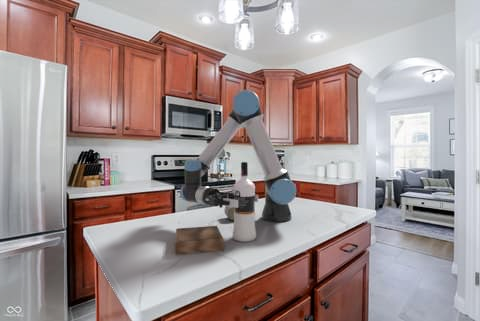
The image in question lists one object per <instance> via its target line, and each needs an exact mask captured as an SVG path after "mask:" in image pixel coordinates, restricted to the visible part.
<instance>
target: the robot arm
mask: <svg viewBox="0 0 480 321" xmlns="http://www.w3.org/2000/svg"><path fill="white" fill-rule="evenodd" d="M237 92H238V93H236V94H235V95H234V97H233V98H232V108H231V109H232V110H231V111H230V113H229V114H228V116H227V120H226V122H224V124H223V126H221V128H220V129H219V130H218V131H217V133H216V134H215V136H214V137H213V138H212V139H211V141H209V143H208V145H207V146H206V147H205V148H204V150H203V151H202V152H201V153H200V155H199V156H198V157H197V159H186V160H185V161H184V166H183V169H184V185H183V186H181V188H180V190H179V197H180V198H181V200H183V201H186V202H189V203H197V204H202V205H203V206H205V205H209V206H214V207H218V206H219V207H218V208H223V206H224V207H226V206H229V207H235V208H238V200H234V192H228V191H226V192H224V191H220V189H218V188H217V187H210V186H203V185H202V177H204V175H205V174H206V172H207V171H208V170H209V168H210V167H211V165H212V164H213V163H214V162H215V161H216V159H217V158H218V157H219V156H220V154H221V153H222V151H223V150H224V149H225V148H226V146H228V144H229V143H230V141H231V140H232V139H233V138H234V137H235V135H236V134H237V133H238V131H239V130H241V129H243V128H244V129H245V131H246V133H247V136H248V138H249V140H250V144H251V145H252V147H253V150H254V151H255V155H256V157H257V159H258V162H259V165H260V166H261V168H262V169H261V170H262V172H263V174H264V177H263V182H264V188H265V189H264V192H265V193H264V197H265V198H264V199H265V202H264V206H263V208H262V212H261V219H263V220H265V221H267V222H269V221H270V222H274V223H275V222H280V223H281V222H287V221H290V220H292V212H291V210H290V206H289V204H291V202H292V201H293V200H294V199H295V198H296V195H297V186H296V185H295V183H294V181H292V180H291V177H290V175H289V173H288V170H287V169H284V168H283V166H282V165H281V164H282V163H281V162H280V160H279V157H278V154H277V152H276V150H275V148H274V147H275V146H274V145H273V143H272V140H271V138H270V135H269V133H268V130H267V128H266V126H265V124H264V121H263V118H264V116H265V115H264V113H263V110H262V108H261V105H260V103H261V102H260V98H259V96H258V94H256V92H254V91H253V90H249V89H243V90H240V91H237ZM255 203H259V194H255Z"/></svg>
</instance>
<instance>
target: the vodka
mask: <svg viewBox="0 0 480 321" xmlns="http://www.w3.org/2000/svg"><path fill="white" fill-rule="evenodd" d="M248 166H249V165H248V162H246V161H242V162H240V168H241V169H240V179H239V180H238V181H237V182H235V183H234V185H233V193H234V200H238V208H235V207H234V220H233V231H232V238H233V239H234V240H235V241H237V242H240V243H241V242H242V243H249V242H252V241H254V240H255V239H256V238H257V231H256V221H255V220H256V219H255V218H256V217H255V216H256V213H255V212H256V211H255V205H256V204H255V203H256V202H255V195H256V193H255V192H256V186H255V183H254V182H253V181H251V180H250V179H249V177H248V176H249V175H248V173H249V172H248V169H249V168H248Z"/></svg>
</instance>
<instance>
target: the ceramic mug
mask: <svg viewBox="0 0 480 321" xmlns="http://www.w3.org/2000/svg"><path fill="white" fill-rule="evenodd" d="M224 214H225V216H226V217H227V218H228V220H231V221H234V207H229V206H224Z"/></svg>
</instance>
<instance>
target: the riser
mask: <svg viewBox="0 0 480 321" xmlns="http://www.w3.org/2000/svg"><path fill="white" fill-rule="evenodd" d="M224 239H225V238H224V237H223V235H222V233H221V231H220V229H219V227H218V226H217V225H209V226H208V225H207V226H197V227H183V228H182V227H181V228H180V227H179V228H176V229H175V239H174V240H175V243H174V244H175V247H174V248H175V252H174V253H175V254H174V255H175V256H178V255H180V254H181V255H188V254H189V255H190V254H199V253H200V254H201V253H209V252H210V253H211V252H220V251H224V247H225V246H224V243H225V242H224Z"/></svg>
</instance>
